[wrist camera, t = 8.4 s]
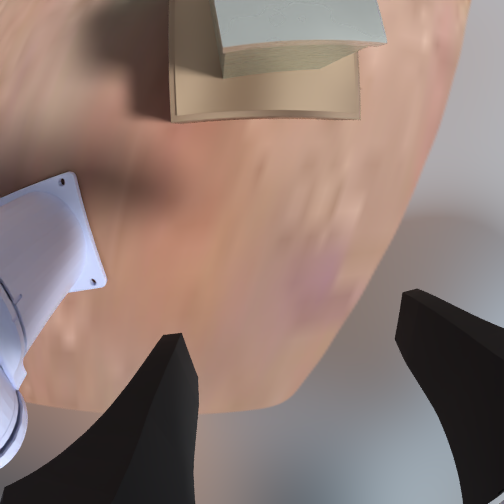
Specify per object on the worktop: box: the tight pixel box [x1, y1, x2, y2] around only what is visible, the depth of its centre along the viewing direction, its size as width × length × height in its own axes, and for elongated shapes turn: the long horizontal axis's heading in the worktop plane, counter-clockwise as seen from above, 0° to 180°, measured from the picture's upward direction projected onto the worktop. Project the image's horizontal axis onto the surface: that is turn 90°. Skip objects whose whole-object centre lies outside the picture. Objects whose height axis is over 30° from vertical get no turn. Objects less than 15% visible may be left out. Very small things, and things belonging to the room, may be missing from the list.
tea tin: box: [209, 0, 387, 79], centre depth 8 cm, size 5×5×6 cm
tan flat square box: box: [168, 0, 361, 124], centre depth 12 cm, size 9×9×4 cm
